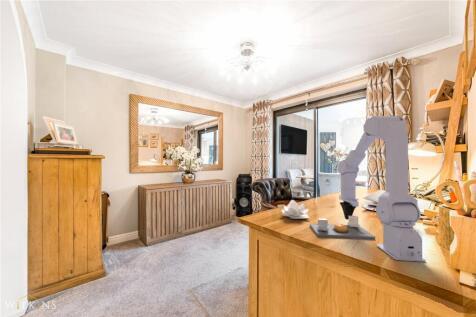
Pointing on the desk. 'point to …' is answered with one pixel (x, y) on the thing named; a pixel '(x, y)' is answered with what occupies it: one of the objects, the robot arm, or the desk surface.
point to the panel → (351, 232)
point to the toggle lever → (353, 221)
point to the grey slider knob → (322, 225)
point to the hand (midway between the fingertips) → (348, 219)
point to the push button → (340, 227)
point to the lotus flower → (295, 210)
